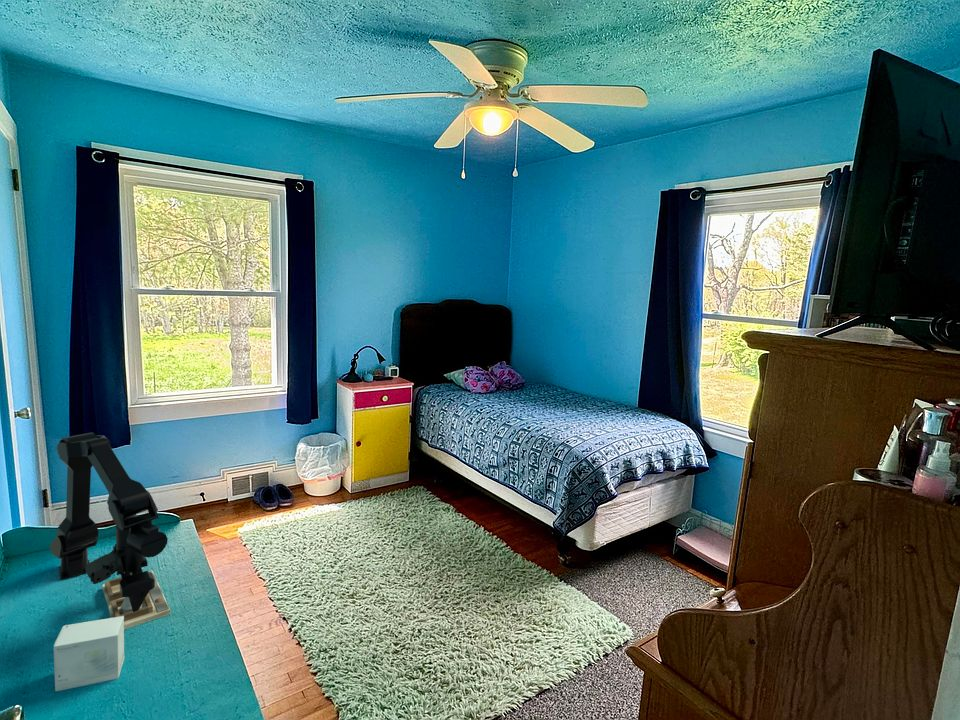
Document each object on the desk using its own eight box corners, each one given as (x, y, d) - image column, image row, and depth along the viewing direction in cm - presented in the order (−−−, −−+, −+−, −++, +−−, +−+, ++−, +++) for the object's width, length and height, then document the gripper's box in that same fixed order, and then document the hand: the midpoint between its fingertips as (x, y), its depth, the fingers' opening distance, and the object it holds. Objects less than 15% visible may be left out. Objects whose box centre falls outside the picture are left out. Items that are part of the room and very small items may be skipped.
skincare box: (54, 693, 98) (52, 646, 96) (64, 669, 103) (62, 624, 102) (118, 679, 102) (117, 634, 101) (125, 657, 108) (124, 614, 106)
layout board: (102, 588, 128) (102, 579, 128) (152, 574, 136) (152, 565, 136) (115, 632, 114) (115, 622, 114) (170, 614, 122) (170, 604, 122)
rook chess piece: (131, 617, 118) (130, 587, 117) (115, 613, 119) (114, 582, 118) (147, 606, 122) (147, 576, 121) (132, 602, 123) (131, 572, 122)
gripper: (82, 533, 119) (84, 593, 121) (93, 571, 105) (95, 637, 108) (138, 521, 126) (139, 577, 129) (155, 555, 113) (155, 616, 116)
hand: (131, 600), depth 120 cm, fingers open, 9 cm apart
